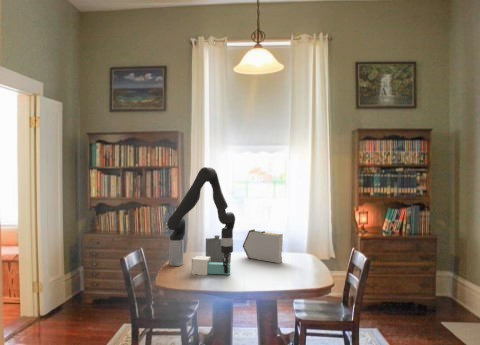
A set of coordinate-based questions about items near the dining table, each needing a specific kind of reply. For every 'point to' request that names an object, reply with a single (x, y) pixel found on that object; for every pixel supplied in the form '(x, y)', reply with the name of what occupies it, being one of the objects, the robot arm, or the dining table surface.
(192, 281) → the dining table surface
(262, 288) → the dining table surface
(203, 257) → the cream rectangular block
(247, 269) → the dining table surface
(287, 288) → the dining table surface
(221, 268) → the teal rectangular block
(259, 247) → the model house
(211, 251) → the hip flask
